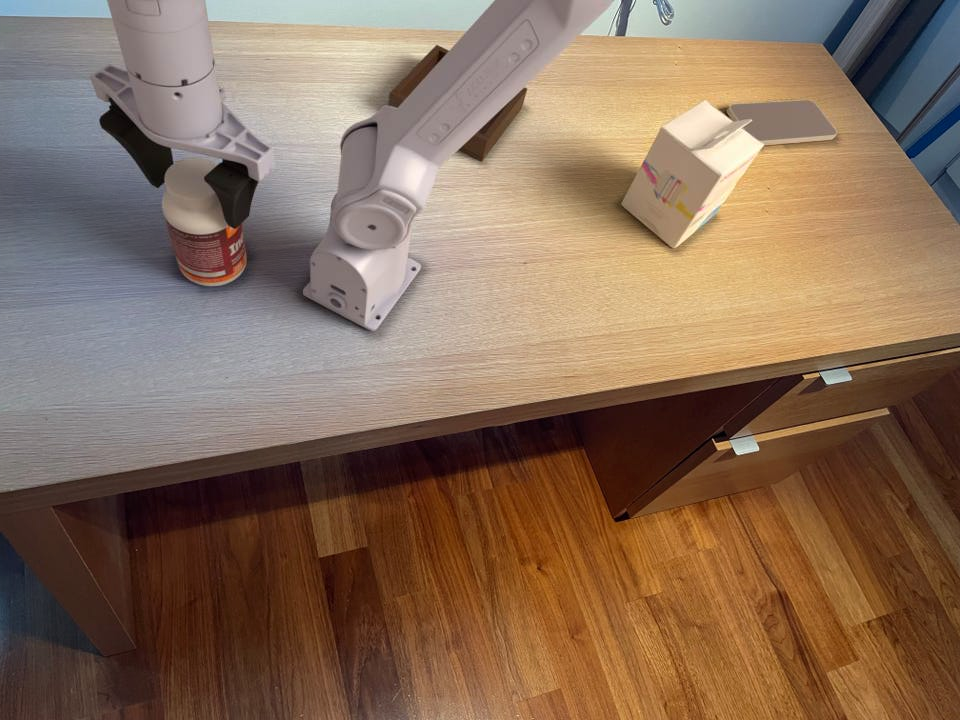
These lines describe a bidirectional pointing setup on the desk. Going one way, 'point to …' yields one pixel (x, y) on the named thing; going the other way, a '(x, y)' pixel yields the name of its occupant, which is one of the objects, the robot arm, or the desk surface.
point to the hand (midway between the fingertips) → (200, 199)
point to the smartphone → (783, 121)
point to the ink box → (690, 172)
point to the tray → (488, 133)
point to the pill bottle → (201, 226)
